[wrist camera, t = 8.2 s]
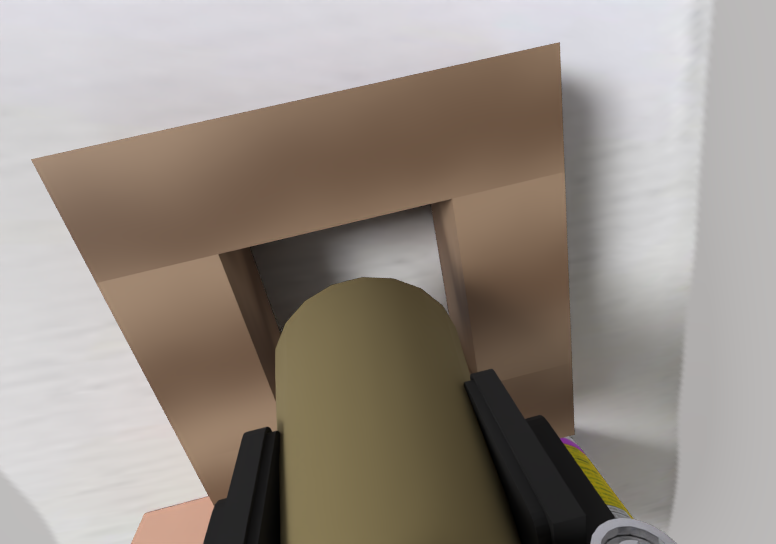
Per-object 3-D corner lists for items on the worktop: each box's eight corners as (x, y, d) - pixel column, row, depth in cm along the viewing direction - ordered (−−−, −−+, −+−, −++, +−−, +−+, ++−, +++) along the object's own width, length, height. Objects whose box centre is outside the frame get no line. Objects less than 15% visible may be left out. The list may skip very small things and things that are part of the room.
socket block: (100, 146, 16) (30, 159, 12) (507, 56, 17) (559, 42, 13) (242, 457, 22) (225, 528, 18) (534, 381, 23) (574, 434, 19)
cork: (493, 364, 14) (896, 984, 4) (359, 464, 15) (424, 1187, 5) (382, 236, 12) (656, 885, 2) (232, 361, 13) (-108, 1267, 3)
